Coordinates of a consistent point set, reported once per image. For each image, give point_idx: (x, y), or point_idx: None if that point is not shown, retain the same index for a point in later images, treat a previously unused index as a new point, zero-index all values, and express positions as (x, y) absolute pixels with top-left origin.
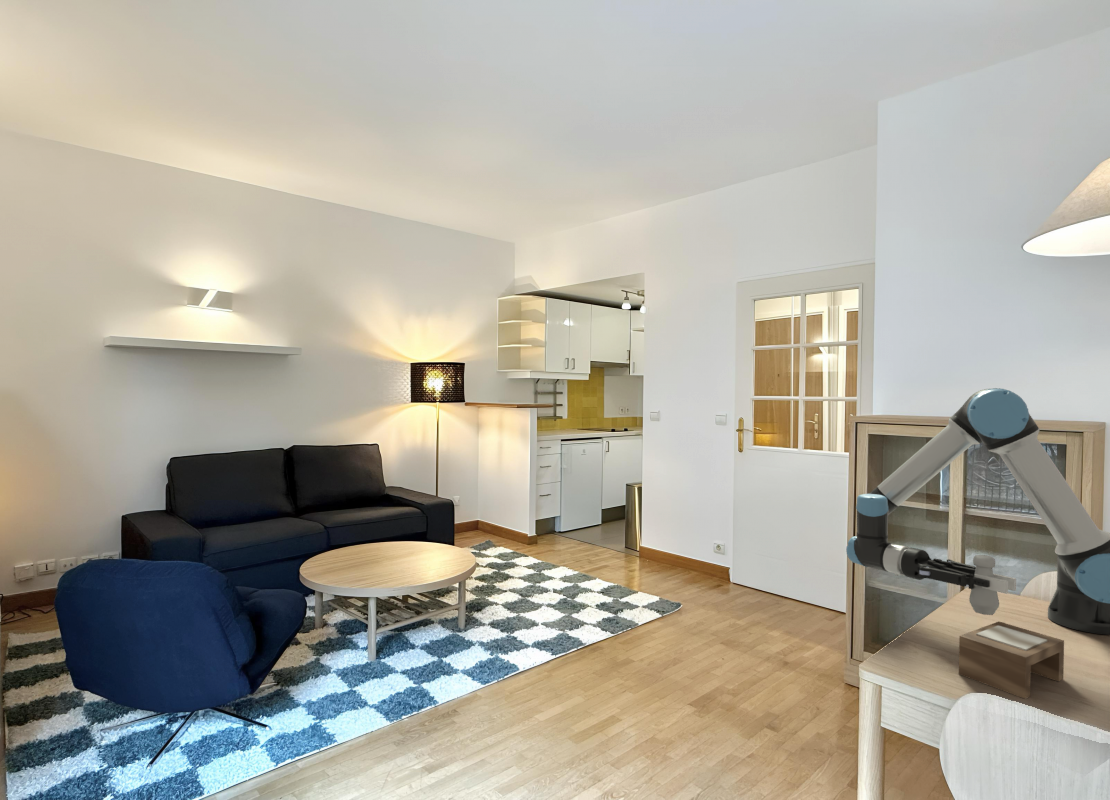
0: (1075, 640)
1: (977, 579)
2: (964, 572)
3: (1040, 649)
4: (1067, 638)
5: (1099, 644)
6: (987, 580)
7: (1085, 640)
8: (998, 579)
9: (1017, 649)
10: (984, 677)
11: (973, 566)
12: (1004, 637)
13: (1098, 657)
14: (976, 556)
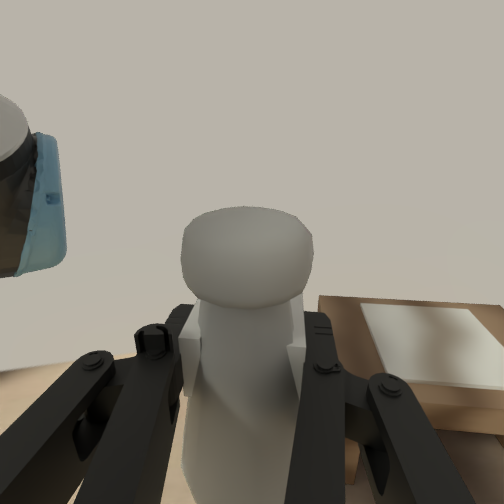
0: (26, 398)
1: (334, 344)
2: (304, 407)
3: (423, 302)
4: (15, 412)
5: (36, 367)
6: (310, 314)
7: (15, 387)
8: None
9: (482, 319)
10: None
11: (16, 433)
12: (462, 343)
13: (132, 354)
14: (284, 233)
